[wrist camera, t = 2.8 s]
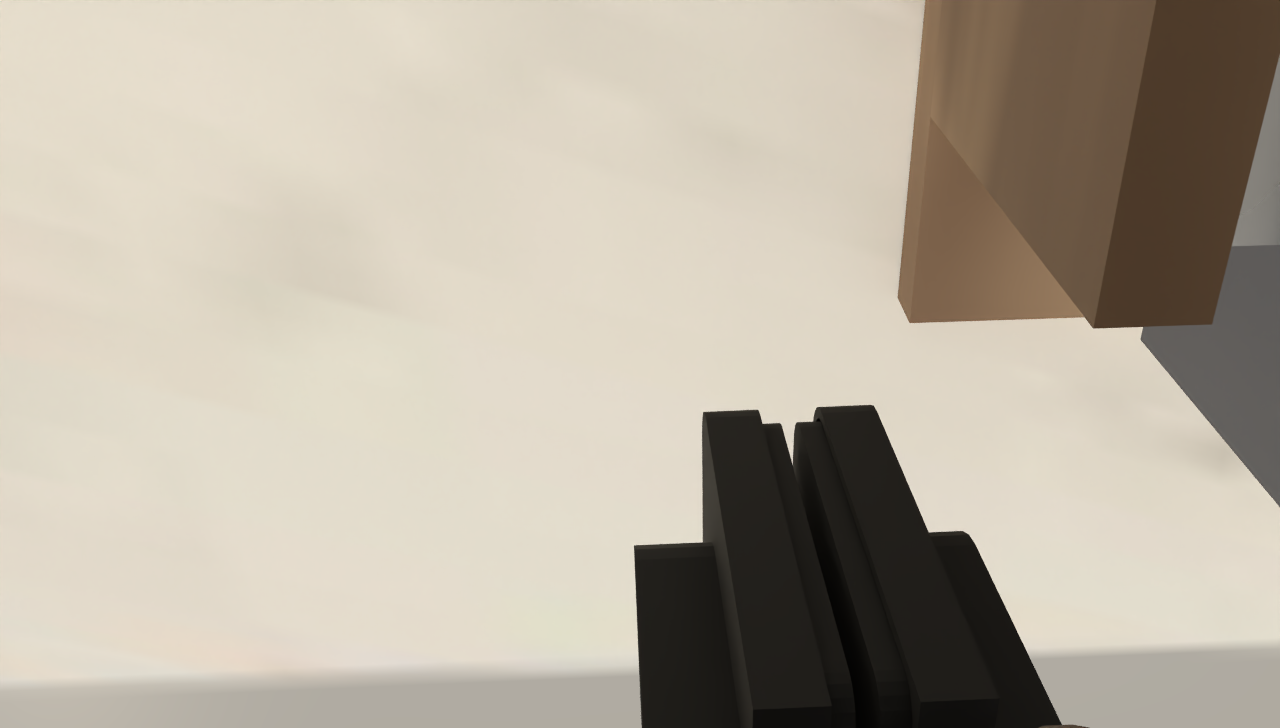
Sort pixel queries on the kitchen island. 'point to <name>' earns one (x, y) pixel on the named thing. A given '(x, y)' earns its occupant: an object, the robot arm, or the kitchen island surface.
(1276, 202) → the rail
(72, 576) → the kitchen island surface
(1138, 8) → the wooden rail stand
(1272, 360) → the notched grey block
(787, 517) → the robot arm
